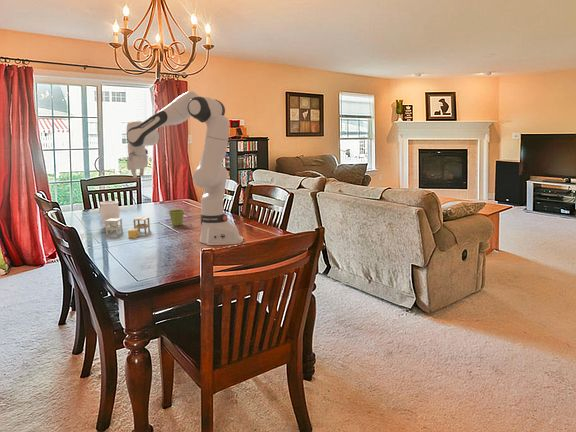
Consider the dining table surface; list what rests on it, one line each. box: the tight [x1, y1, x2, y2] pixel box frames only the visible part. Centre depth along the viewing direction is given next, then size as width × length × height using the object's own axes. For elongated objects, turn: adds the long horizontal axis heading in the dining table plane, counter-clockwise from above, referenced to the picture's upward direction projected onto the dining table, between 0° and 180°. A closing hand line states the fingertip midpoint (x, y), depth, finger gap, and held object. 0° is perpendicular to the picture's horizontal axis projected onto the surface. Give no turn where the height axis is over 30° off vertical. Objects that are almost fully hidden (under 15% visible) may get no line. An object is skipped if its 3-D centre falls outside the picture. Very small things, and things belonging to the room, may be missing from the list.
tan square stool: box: [133, 216, 151, 235], centre depth 239 cm, size 6×6×8 cm
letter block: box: [127, 228, 140, 239], centre depth 230 cm, size 4×4×4 cm
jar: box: [99, 200, 120, 229], centre depth 253 cm, size 11×10×15 cm
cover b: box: [105, 217, 124, 236], centre depth 236 cm, size 6×6×8 cm
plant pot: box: [168, 209, 185, 227], centre depth 258 cm, size 9×9×9 cm
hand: (138, 177), depth 234 cm, fingers open, 8 cm apart
